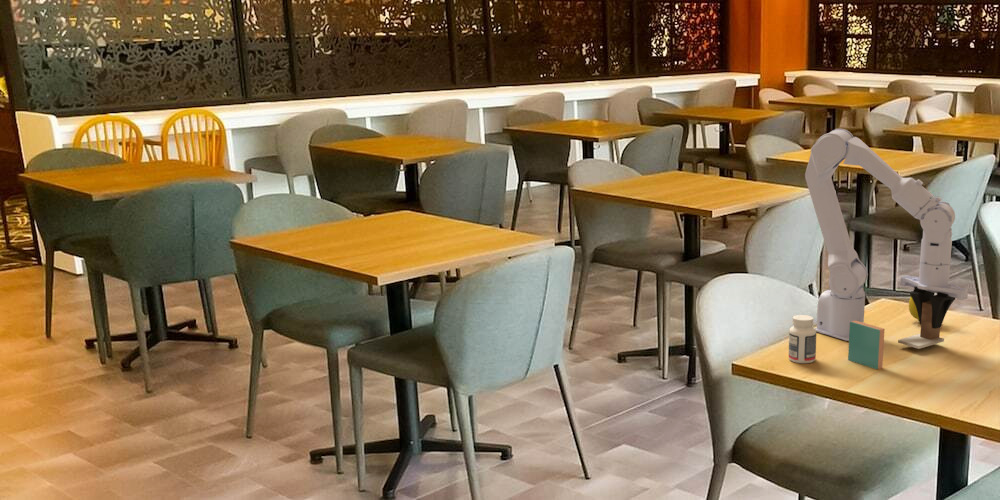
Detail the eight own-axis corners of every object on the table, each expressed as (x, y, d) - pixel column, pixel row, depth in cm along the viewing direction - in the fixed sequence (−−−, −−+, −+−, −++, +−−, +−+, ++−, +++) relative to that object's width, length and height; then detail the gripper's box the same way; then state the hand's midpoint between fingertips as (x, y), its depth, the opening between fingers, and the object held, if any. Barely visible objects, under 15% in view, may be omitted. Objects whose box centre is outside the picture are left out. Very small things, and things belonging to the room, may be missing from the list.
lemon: (936, 326, 227) (939, 291, 225) (910, 325, 228) (912, 290, 226) (931, 318, 232) (934, 284, 230) (905, 318, 233) (907, 284, 232)
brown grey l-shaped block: (897, 342, 213) (900, 305, 212) (923, 335, 218) (926, 298, 216) (918, 348, 209) (921, 311, 207) (944, 341, 213) (947, 304, 212)
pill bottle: (816, 356, 210) (817, 314, 208) (814, 364, 205) (816, 322, 203) (789, 354, 212) (790, 312, 210) (787, 362, 207) (788, 320, 205)
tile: (848, 360, 207) (849, 321, 206) (853, 358, 208) (855, 320, 206) (876, 369, 202) (879, 330, 200) (882, 367, 202) (884, 328, 201)
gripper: (892, 258, 215) (888, 320, 218) (954, 272, 203) (949, 337, 206) (914, 253, 219) (910, 315, 222) (976, 266, 207) (971, 331, 210)
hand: (930, 325), depth 214 cm, fingers closed on brown grey l-shaped block, 2 cm apart
